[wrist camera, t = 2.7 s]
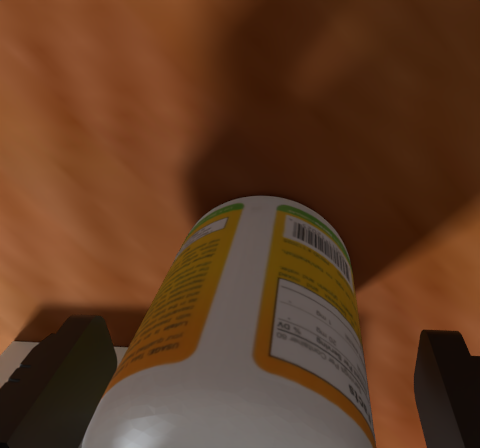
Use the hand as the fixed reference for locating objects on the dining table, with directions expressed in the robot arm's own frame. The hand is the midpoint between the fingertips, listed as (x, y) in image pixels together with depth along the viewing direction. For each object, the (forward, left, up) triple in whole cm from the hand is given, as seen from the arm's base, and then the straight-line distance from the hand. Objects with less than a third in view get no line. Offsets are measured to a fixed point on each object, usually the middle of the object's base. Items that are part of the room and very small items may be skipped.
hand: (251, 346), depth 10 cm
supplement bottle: (0, 0, -4) cm, 4 cm away
